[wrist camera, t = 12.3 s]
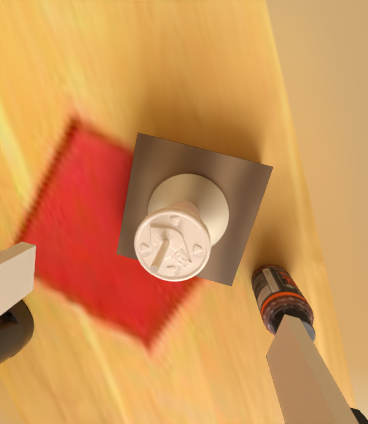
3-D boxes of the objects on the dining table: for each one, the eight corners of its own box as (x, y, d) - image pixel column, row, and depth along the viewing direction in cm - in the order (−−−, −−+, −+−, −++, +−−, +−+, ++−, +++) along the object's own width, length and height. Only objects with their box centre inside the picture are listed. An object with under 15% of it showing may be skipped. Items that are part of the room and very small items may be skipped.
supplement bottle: (298, 278, 34) (338, 336, 24) (271, 303, 36) (297, 367, 25) (268, 255, 34) (296, 303, 23) (242, 281, 36) (257, 337, 25)
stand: (131, 237, 36) (115, 255, 30) (150, 136, 32) (136, 132, 25) (227, 264, 35) (231, 287, 29) (261, 164, 31) (274, 167, 25)
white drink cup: (185, 178, 26) (160, 204, 13) (221, 217, 27) (234, 282, 13) (148, 213, 28) (90, 270, 14) (183, 249, 28) (160, 335, 15)
